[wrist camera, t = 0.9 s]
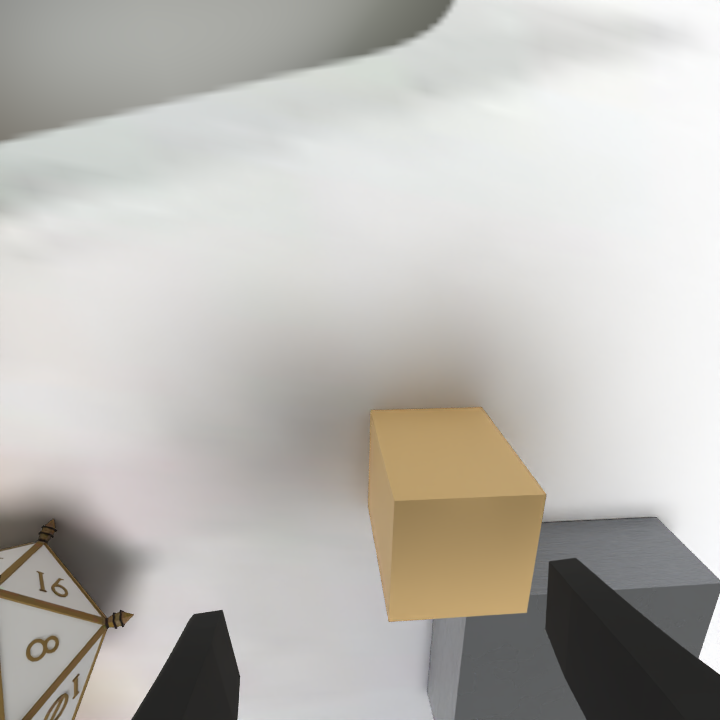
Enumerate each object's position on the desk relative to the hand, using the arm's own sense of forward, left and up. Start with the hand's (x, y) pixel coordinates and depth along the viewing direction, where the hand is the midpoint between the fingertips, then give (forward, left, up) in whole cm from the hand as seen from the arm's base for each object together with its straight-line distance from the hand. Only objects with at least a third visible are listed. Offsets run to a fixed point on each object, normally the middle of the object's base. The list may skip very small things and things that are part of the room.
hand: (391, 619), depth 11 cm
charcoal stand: (-10, -9, -10) cm, 17 cm away
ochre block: (-2, -3, -10) cm, 10 cm away
